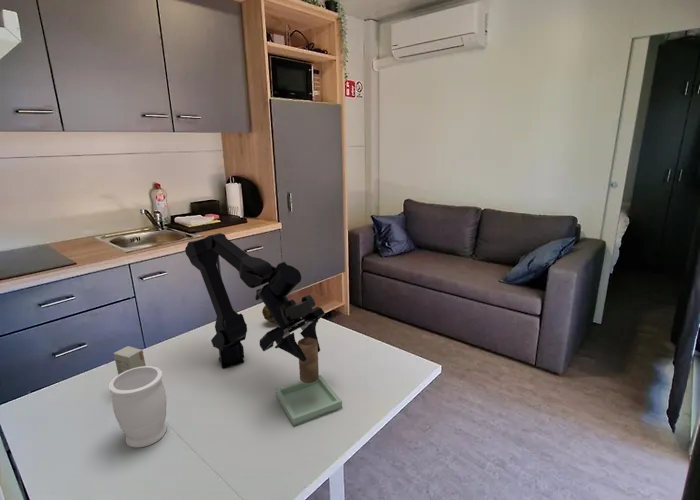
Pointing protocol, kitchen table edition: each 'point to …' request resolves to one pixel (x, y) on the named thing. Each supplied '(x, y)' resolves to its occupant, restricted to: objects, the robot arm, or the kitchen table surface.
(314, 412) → the tray
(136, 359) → the skincare box
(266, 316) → the potato
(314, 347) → the mill
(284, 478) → the kitchen table surface
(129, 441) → the jar
